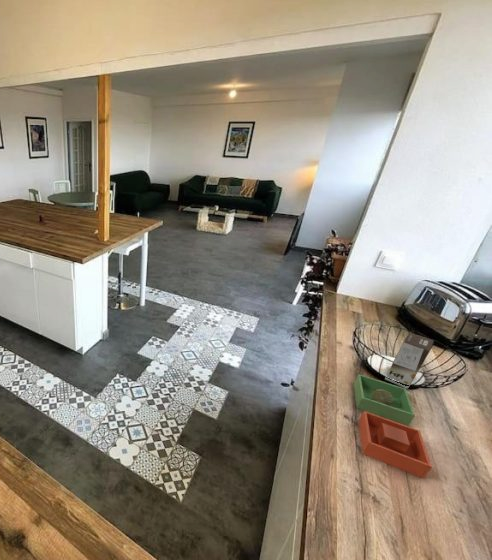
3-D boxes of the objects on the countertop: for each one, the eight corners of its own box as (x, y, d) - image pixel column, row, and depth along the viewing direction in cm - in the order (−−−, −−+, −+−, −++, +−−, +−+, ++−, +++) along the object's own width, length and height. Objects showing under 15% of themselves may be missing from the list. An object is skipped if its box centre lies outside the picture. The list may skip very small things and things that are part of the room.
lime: (392, 408, 96) (399, 397, 94) (376, 408, 96) (382, 396, 94) (381, 397, 100) (387, 386, 98) (366, 397, 100) (371, 385, 98)
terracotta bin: (412, 441, 86) (419, 430, 84) (423, 478, 77) (432, 467, 75) (358, 421, 92) (363, 410, 90) (362, 453, 83) (368, 442, 81)
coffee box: (408, 390, 103) (430, 351, 96) (384, 379, 108) (403, 342, 101) (413, 377, 109) (434, 340, 102) (390, 367, 113) (409, 331, 106)
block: (398, 443, 85) (406, 431, 83) (401, 458, 81) (410, 445, 79) (375, 434, 87) (382, 422, 85) (377, 448, 84) (385, 436, 82)
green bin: (400, 399, 100) (406, 388, 98) (408, 426, 91) (415, 415, 89) (353, 384, 106) (358, 374, 104) (356, 408, 97) (361, 397, 95)
